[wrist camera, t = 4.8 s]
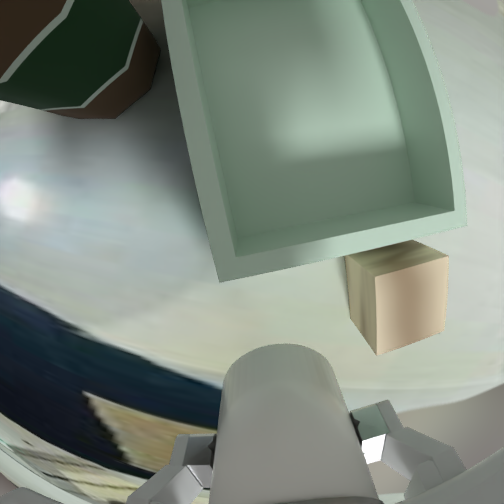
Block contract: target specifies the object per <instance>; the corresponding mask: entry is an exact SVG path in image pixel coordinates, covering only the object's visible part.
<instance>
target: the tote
mask: <svg viewBox="0 0 504 504" xmlns="http://www.w3.org/2000/svg"><path fill="white" fill-rule="evenodd" d="M161 2H162V9H163V16H164V23H165V29H166V35H167V41H168V47H169V53H170V59H171V65H172V71H173V76H174V82H175V87H176V92H177V98H178V103H179V108H180V113H181V118H182V123H183V128H184V133H185V138H186V143H187V147H188V152H189V157H190V162H191V166H192V171H193V175H194V180H195V184H196V189H197V193H198V197H199V202H200V206H201V210H202V214H203V219H204V223H205V227H206V231H207V235H208V239H209V243H210V247H211V251H212V255H213V259H214V263H215V267H216V271H217V275H218V279H219V283H220V282H225V281H230V280H235V279H239V278H244V277H249V276H254V275H259V274H263V273H268V272H273V271H277V270H282V269H287V268H291V267H296V266H301V265H305V264H310V263H314V262H319V261H323V260H328V259H332V258H336V257H341V256H345V255H349V254H354V253H358V252H362V251H367V250H371V249H375V248H379V247H384V246H388V245H392V244H396V243H400V242H404V241H408V240H412V239H416V238H421V237H425V236H429V235H433V234H436V233H440V232H444V231H448V230H452V229H456V228H460V227H464V226H467V212H466V197H465V186H464V176H463V168H462V161H461V154H460V148H459V142H458V137H457V132H456V127H455V122H454V117H453V113H452V109H451V105H450V101H449V97H448V93H447V90H446V86H445V83H444V79H443V76H442V73H441V70H440V67H439V64H438V61H437V58H436V55H435V52H434V50H433V47H432V44H431V42H430V39H429V37H428V34H427V32H426V29H425V27H424V25H423V22H422V20H421V18H420V16H419V14H418V11H417V9H416V7H415V5H414V3H413V1H412V0H161Z"/></svg>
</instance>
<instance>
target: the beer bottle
mask: <svg viewBox="0 0 504 504" xmlns="http://www.w3.org/2000/svg"><path fill="white" fill-rule="evenodd" d="M159 54H160V48H159V46H158V44H157V42H156V40H155V38H154V37H153V35H152V34H151V32H150V31H149V29H148V28H147V26H146V25H145V23H144V22H143V20H142V19H141V18H140V16H139V15H138V13H137V12H136V10H135V9H134V7H133V6H132V5H131V3H130V2H129V0H0V100H2V101H6V102H11V103H15V104H19V105H24V106H28V107H32V108H36V109H40V110H44V111H47V112H51V113H55V114H58V115H62V116H66V117H72V118H77V119H115V118H116V117H118V116H119V115H120V114H121V113H122V112H123V111H124V110H126V109H127V108H128V107H129V106H130V105H131V104H133V103H134V102H135V101H136V100H138V99H139V98H140V97H141V96H142V95H144V94H145V93H146V92H148V91H149V90H150V88H151V84H152V80H153V76H154V72H155V68H156V65H157V61H158V57H159Z"/></svg>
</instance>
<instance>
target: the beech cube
mask: <svg viewBox="0 0 504 504" xmlns="http://www.w3.org/2000/svg"><path fill="white" fill-rule="evenodd" d="M345 264H346V273H347V283H348V294H349V306H350V319H351V320H352V321H353V323H354V324H355V326H356V327H357V328H358V330H359V331H360V333H361V334H362V336H363V337H364V338H365V340H366V341H367V343H368V344H369V345H370V347H371V348H372V350H373V351H374V353H375V354H376V356H377V355H380V354H383V353H386V352H389V351H392V350H395V349H398V348H401V347H404V346H406V345H409V344H412V343H415V342H417V341H420V340H422V339H425V338H427V337H430V336H432V335H435V334H437V333H440V332H442V331H444V327H445V318H446V307H447V294H448V271H449V256H448V255H446V254H444V253H442V252H439V251H437V250H435V249H433V248H430V247H428V246H426V245H423V244H421V243H419V242H416V241H414V240H408V241H404V242H400V243H396V244H392V245H388V246H384V247H379V248H375V249H371V250H367V251H362V252H358V253H354V254H349V255H345Z"/></svg>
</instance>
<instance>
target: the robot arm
mask: <svg viewBox="0 0 504 504" xmlns="http://www.w3.org/2000/svg"><path fill="white" fill-rule="evenodd" d="M350 417H351V419H352V422H353V425H354V428H355V431H356V433H357V436H358V439H359V442H360V445H361V448H362V450H363V453H364V456H365V459H366V462H367V464H369V463H372V462H376V461H379V460H381V461H382V462H384V463H385V464H386V465H388V466H389V467H391V468H392V469H394V470H395V471H396V472H398V473H400V474H401V475H402V476H404V477H406V478H407V479H408V480H410V483H409V485H408V487H407V490H406V491H405V493H404V497H405V500H403V501H401V502H398V503H396V504H504V447H502V448H501V449H499V450H498V451H497V452H495V453H494V454H492V455H491V456H489V457H488V458H486V459H484V460H483V461H481V462H480V463H478V464H476V465H475V466H473V467H471V468H470V469H468V470H467V469H466V468H465V466H464V464H463V463H462V461H461V459H460V457H459V456H458V454H457V452H456V451H455V449H454V448H453V447H451V446H449V445H447V444H444V443H442V442H440V441H437V440H435V439H433V438H430V437H428V436H426V435H424V434H422V433H420V432H417V431H415V430H413V429H411V428H409V427H405V428H404V427H403V425H402V423H401V422H400V420H399V418H398V416H397V414H396V412H395V410H394V409H393V407H392V405H391V403H390V401H389V400H385V401H382V402H379V403H376V404H372V405H368V406H365V407H362V408H359V409H355V410H352V411H350ZM216 438H217V434H178V436H177V437H176V440H175V444H174V448H173V452H172V456H171V460H170V464H169V465H165V466H164V467H163V468H162V469H161V470H160V471H158V472H157V473H156V474H155V475H154V476H153V477H151V478H150V479H149V480H148V481H147V482H145V483H144V484H143V485H142V486H141V487H139V488H138V489H137V490H136V491H135V492H133V493H132V494H131V495H130V496H128V498H127V502H126V504H191V503H192V502H193V500H194V499H195V498H196V497H197V496H198V494H199V493H200V492H201V491H202V489H203V488H211V480H212V471H213V463H214V454H215V446H216ZM0 504H63V503H61V502H58V501H55V500H53V499H51V498H48V497H46V496H43V495H41V494H39V493H37V492H35V491H33V490H30V489H28V488H25V487H20V488H17V489H15V490H12V491H10V492H8V493H6V494H4V495H2V496H0Z"/></svg>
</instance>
